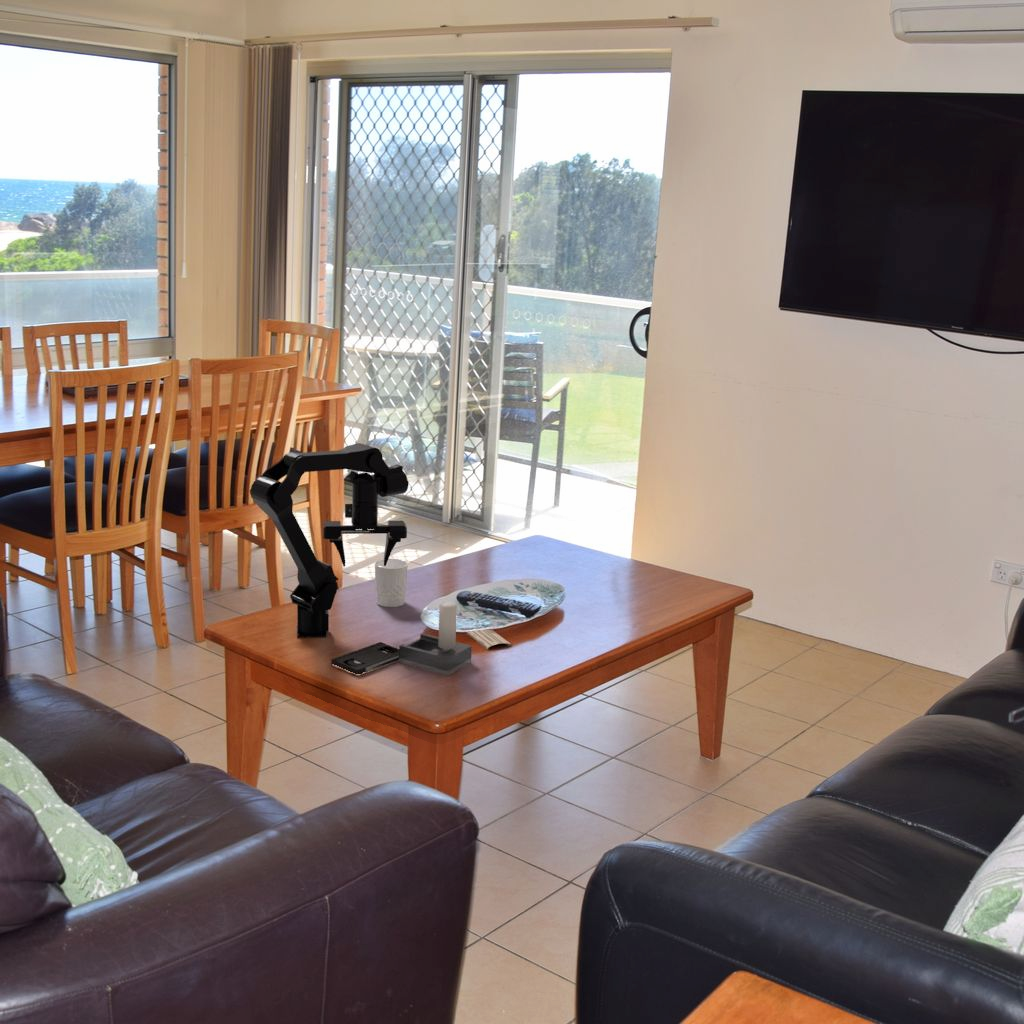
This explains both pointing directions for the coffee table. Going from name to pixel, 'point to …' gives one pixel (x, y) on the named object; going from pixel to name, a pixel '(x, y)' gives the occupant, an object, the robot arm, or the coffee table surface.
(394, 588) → the white cup
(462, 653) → the keyhole plate
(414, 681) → the coffee table surface
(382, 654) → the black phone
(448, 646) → the post
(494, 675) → the coffee table surface
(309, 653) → the coffee table surface
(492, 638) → the newspaper
